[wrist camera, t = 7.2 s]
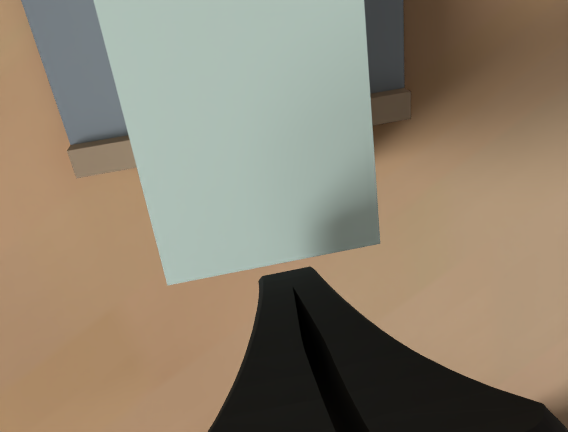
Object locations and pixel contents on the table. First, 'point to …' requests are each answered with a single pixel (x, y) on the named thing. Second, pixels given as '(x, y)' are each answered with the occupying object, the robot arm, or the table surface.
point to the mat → (103, 94)
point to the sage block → (247, 127)
